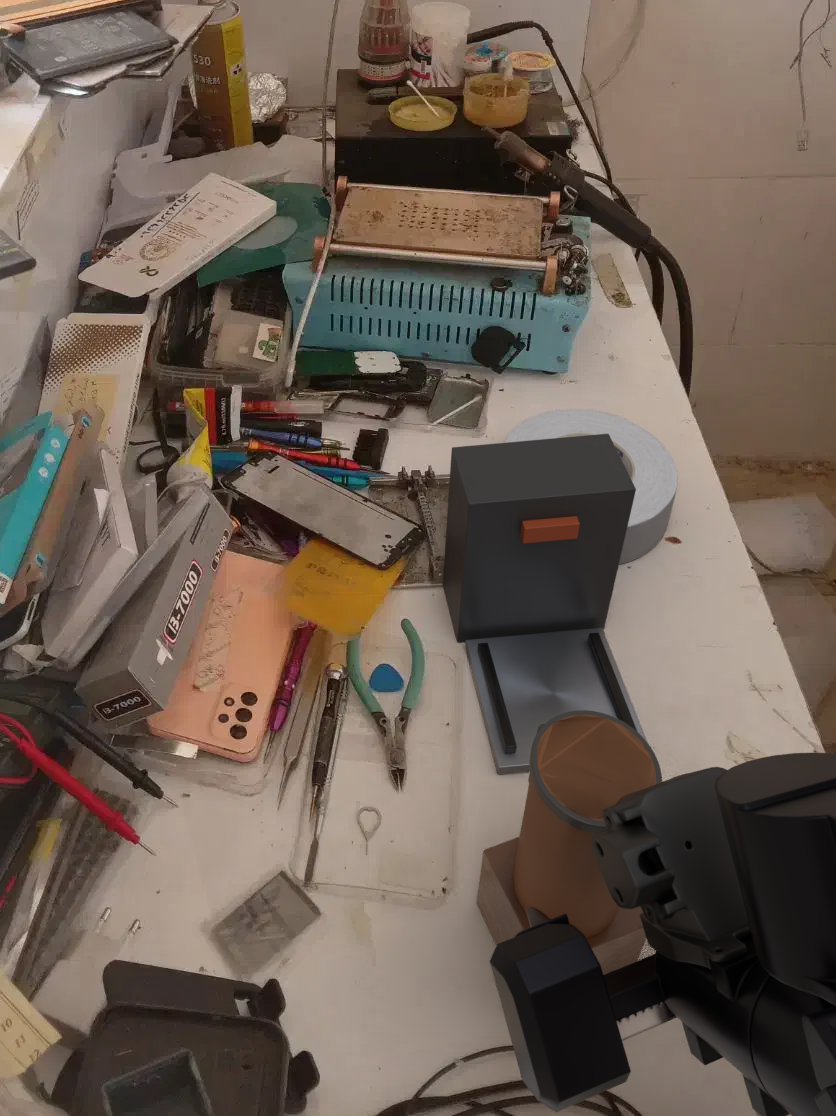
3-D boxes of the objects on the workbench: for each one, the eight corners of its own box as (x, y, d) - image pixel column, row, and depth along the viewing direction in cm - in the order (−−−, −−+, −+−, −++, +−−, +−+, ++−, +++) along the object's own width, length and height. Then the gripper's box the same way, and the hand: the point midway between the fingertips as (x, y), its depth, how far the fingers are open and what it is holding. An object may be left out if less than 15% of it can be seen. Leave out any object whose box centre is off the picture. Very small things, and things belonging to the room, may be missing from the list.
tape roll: (639, 593, 83) (649, 552, 80) (468, 527, 90) (472, 487, 87) (688, 479, 93) (699, 439, 90) (531, 427, 100) (536, 389, 97)
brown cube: (632, 974, 61) (652, 923, 57) (530, 1017, 59) (542, 968, 55) (571, 865, 66) (585, 811, 62) (475, 902, 65) (483, 849, 60)
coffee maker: (607, 637, 80) (640, 497, 70) (459, 651, 80) (471, 512, 70) (581, 572, 85) (608, 433, 76) (442, 584, 85) (451, 447, 75)
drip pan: (649, 760, 72) (654, 747, 70) (497, 775, 71) (499, 761, 70) (600, 634, 80) (603, 620, 79) (464, 647, 80) (466, 633, 79)
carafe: (644, 920, 57) (689, 801, 49) (544, 960, 55) (573, 846, 47) (570, 795, 63) (599, 672, 55) (478, 829, 61) (494, 708, 53)
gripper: (948, 743, 40) (714, 682, 55) (534, 904, 36) (404, 790, 51) (1041, 1027, 39) (776, 885, 54) (624, 1224, 35) (464, 1011, 50)
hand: (609, 886), depth 53 cm, fingers open, 9 cm apart
